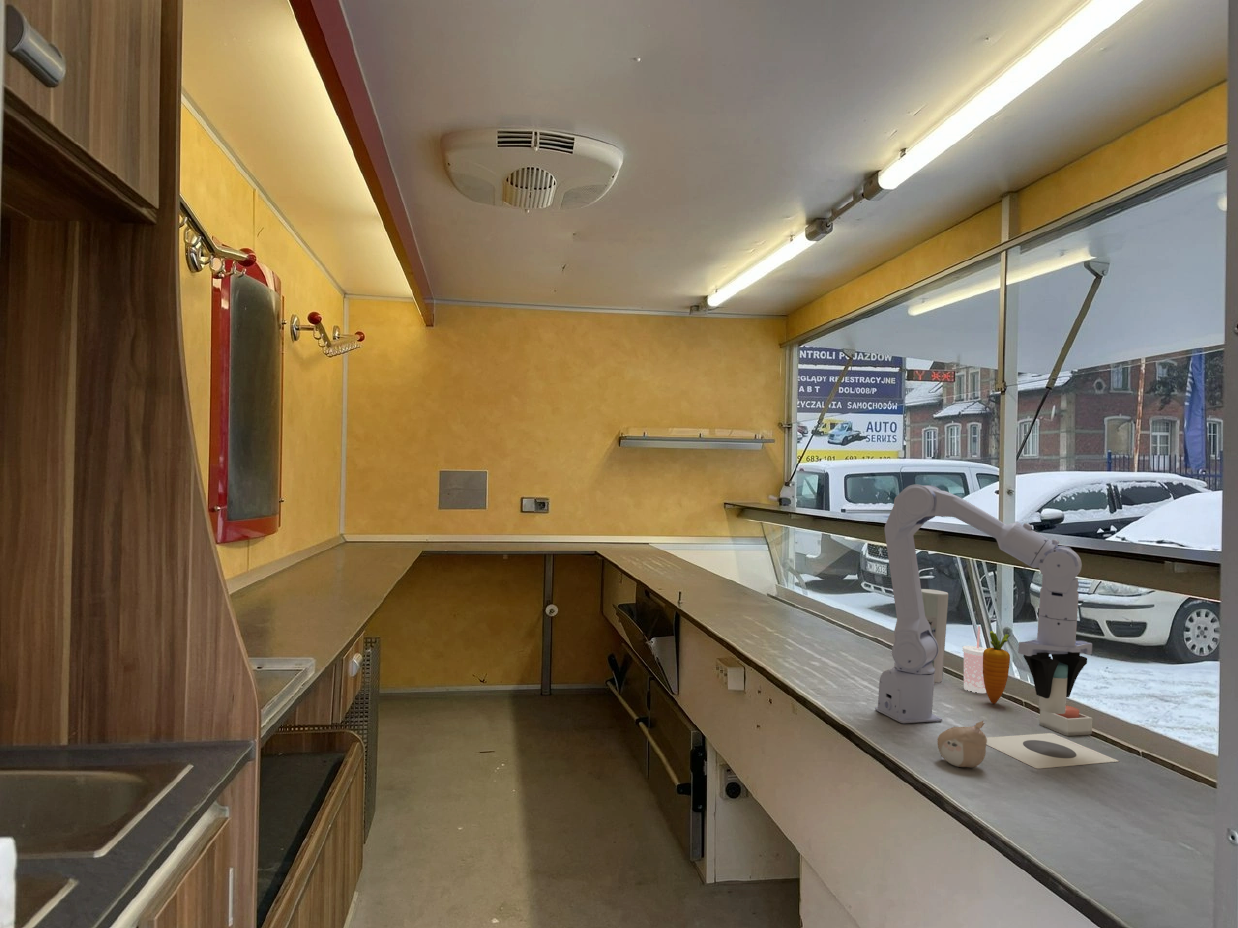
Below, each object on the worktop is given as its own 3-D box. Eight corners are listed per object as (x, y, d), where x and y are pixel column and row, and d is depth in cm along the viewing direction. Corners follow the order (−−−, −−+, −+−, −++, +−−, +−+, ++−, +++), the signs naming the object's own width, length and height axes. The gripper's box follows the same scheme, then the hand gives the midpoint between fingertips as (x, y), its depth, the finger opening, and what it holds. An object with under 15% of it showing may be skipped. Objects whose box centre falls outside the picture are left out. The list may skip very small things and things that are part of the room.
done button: (1067, 723, 138) (1067, 712, 138) (1047, 715, 142) (1048, 704, 142) (1084, 721, 139) (1084, 711, 139) (1064, 714, 143) (1064, 703, 143)
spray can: (905, 675, 172) (911, 589, 172) (926, 673, 175) (931, 588, 175) (928, 683, 166) (934, 594, 166) (949, 681, 169) (954, 593, 169)
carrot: (1006, 702, 155) (1010, 631, 155) (1007, 709, 151) (1012, 635, 151) (979, 698, 157) (984, 627, 157) (980, 704, 153) (984, 631, 153)
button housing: (1067, 735, 136) (1068, 719, 136) (1039, 724, 142) (1040, 708, 142) (1091, 734, 138) (1092, 717, 138) (1063, 722, 144) (1064, 707, 144)
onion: (956, 774, 115) (960, 722, 115) (929, 758, 121) (932, 708, 121) (992, 772, 116) (995, 721, 116) (963, 756, 123) (966, 708, 123)
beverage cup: (987, 696, 159) (991, 630, 159) (956, 689, 163) (960, 625, 163) (993, 690, 164) (997, 626, 164) (963, 684, 168) (967, 621, 168)
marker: (1053, 714, 126) (1055, 667, 126) (1033, 706, 130) (1035, 660, 130) (1070, 713, 127) (1073, 666, 127) (1050, 705, 131) (1053, 660, 131)
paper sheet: (1036, 768, 119) (1036, 767, 119) (974, 738, 131) (974, 737, 131) (1119, 761, 125) (1119, 760, 125) (1051, 733, 137) (1051, 732, 137)
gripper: (1045, 622, 122) (1040, 705, 122) (1110, 621, 127) (1105, 701, 127) (1010, 613, 129) (1005, 691, 129) (1073, 613, 134) (1068, 688, 134)
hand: (1052, 695), depth 129 cm, fingers closed on marker, 4 cm apart
